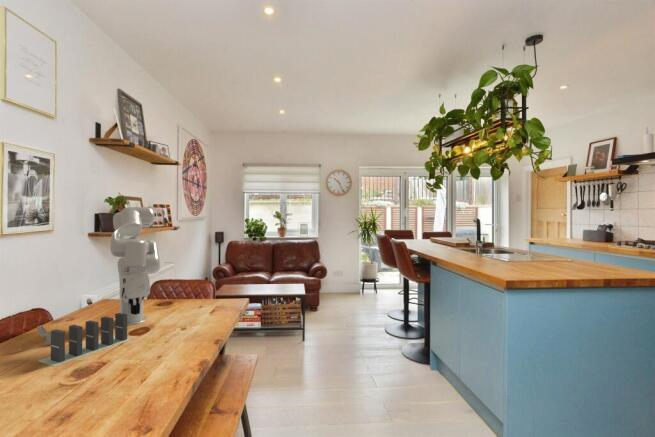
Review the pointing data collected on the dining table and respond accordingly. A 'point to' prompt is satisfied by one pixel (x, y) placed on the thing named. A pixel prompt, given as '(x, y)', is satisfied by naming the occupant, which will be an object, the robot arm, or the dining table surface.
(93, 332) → the domino
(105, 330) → the domino
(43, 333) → the lighter
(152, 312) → the dining table surface
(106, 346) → the mat
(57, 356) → the domino
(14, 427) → the dining table surface
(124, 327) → the domino
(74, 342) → the domino
